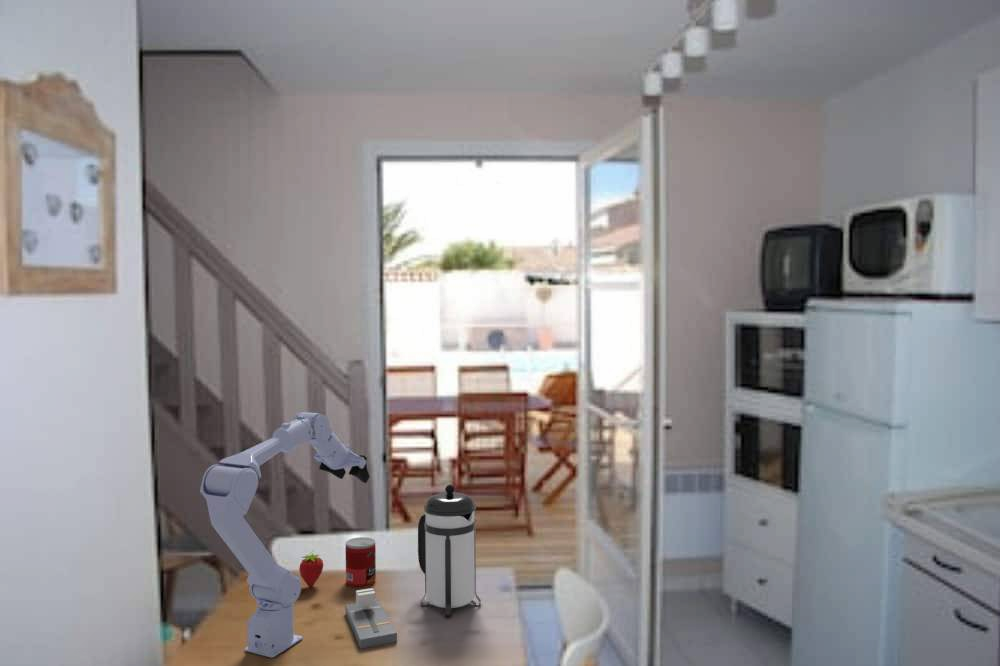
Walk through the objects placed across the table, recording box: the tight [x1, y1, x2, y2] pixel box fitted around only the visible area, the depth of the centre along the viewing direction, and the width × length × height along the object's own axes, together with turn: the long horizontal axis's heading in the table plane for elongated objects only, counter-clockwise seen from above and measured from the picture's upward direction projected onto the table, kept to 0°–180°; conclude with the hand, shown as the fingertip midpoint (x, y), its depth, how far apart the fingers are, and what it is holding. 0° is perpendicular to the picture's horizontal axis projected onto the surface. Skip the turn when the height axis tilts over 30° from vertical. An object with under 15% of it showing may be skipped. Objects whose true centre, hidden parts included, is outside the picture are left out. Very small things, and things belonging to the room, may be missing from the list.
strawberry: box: [299, 550, 324, 588], centre depth 179 cm, size 6×8×10 cm
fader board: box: [345, 599, 398, 650], centre depth 156 cm, size 19×8×2 cm, turn 22°
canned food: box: [345, 536, 377, 588], centre depth 182 cm, size 8×8×11 cm
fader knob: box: [355, 587, 376, 610], centre depth 160 cm, size 3×4×4 cm
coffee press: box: [417, 484, 482, 618], centre depth 168 cm, size 17×16×30 cm
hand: (354, 477), depth 173 cm, fingers open, 7 cm apart
